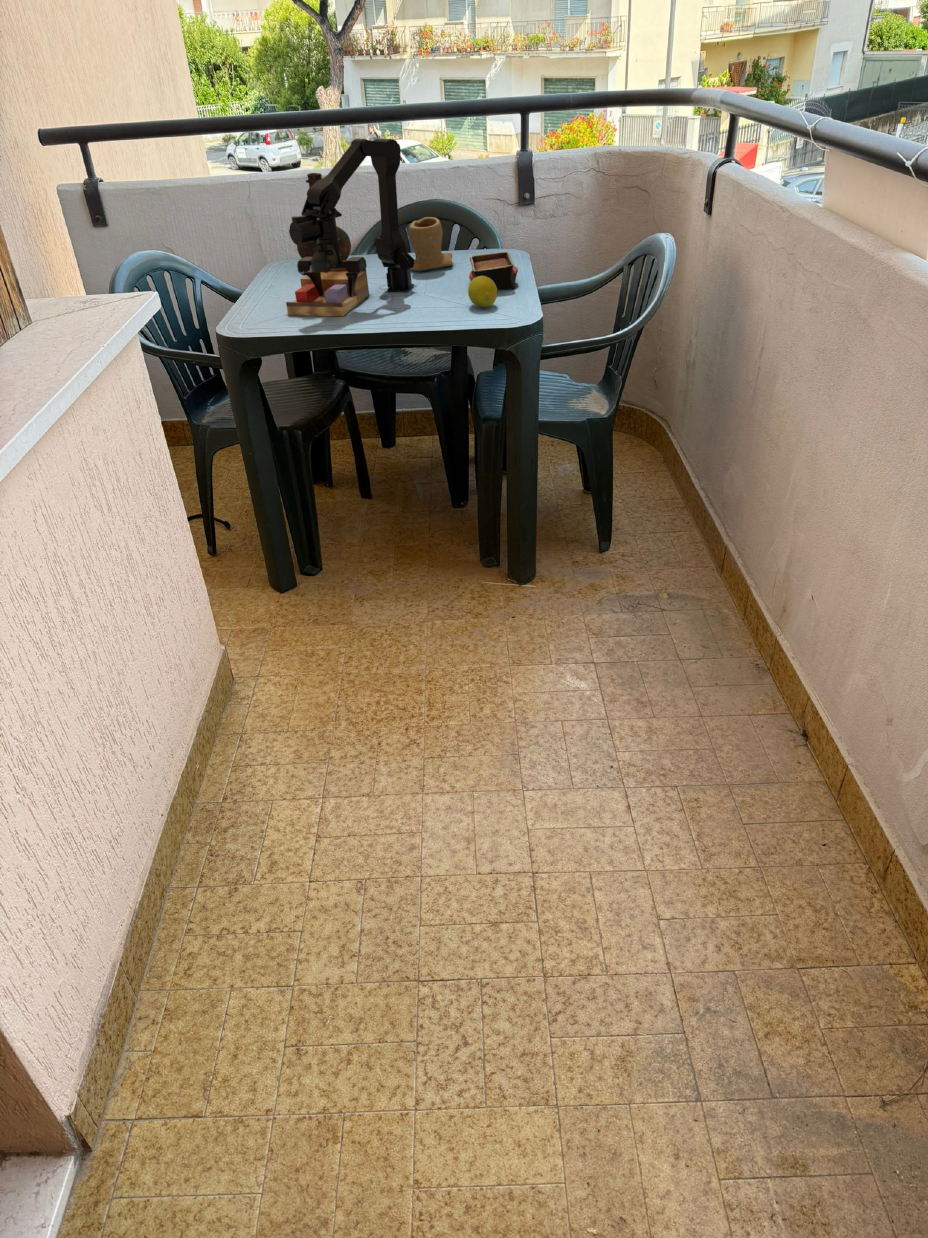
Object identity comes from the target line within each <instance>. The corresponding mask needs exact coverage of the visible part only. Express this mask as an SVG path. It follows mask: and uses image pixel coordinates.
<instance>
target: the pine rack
mask: <svg viewBox="0 0 928 1238" xmlns="http://www.w3.org/2000/svg"><path fill="white" fill-rule="evenodd" d="M347 272H348V271H347V270H346V268H331V270H330V271H329V272H328V273H324V272H321V280H322V288H323V296H322V297H320V295H319V297H318V298H316V299H315V300H313V301H312V302H297V301H296V299H295V300H293V301H286V302H285V306H286V311H287V315H288V316H304V317H305V316H310V317H311V316H313V317H316V316H317V317H344V316H346V315H347V314H348V313H349V312H351V311H352V310H353V309H354V308H355V307H357V306H358V305H359V304H360V303H362V302H363V301H364V300H365V299H366V298H368V297H369V296H370V288H369V281H368V272H367V267H366V268H365V269H363V270H362V271H361V272H360V273H359V274H358V277H357V280H356V284H355V288H354V292H353V296H352V297H350V294H349V287H348V278H347V276H346V273H347ZM306 284H313V282H312V281H311V279H310V278H309V277H308V276H307V275H303V276H302V277H301V278H300V288H301V287H303V286H304V285H306ZM334 285H346V287H347V294H348V297H347V298H346V299H344V300H343V301H342V302H341V303H326V300H325V294H324V292H325V291H327V290H328V289H329V288H331V287H332V286H334Z"/></svg>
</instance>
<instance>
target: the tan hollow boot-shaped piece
mask: <svg viewBox="0 0 928 1238" xmlns="http://www.w3.org/2000/svg"><path fill="white" fill-rule="evenodd" d="M408 232H409V234H408V235H409V241H410V244H411V247H412V249H413V252H414V256H415V259H414V260H415V261H414V267H413V268H410V270H413V271H416V272H417V271H418V272H419V271H420V272H421V271H429V270H435V269H440V268H447V267H451V266H453V253H452V252H446V253H443V252H442V244H443V234H444V233H443V232H444V231H443V227H442V224H441V221H440V220H439V219H438V218H437V217H434V216H425V217H422V218H420V219H417V220H413V221H412V222H411V223H410V224H409V227H408Z"/></svg>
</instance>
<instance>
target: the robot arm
mask: <svg viewBox="0 0 928 1238" xmlns="http://www.w3.org/2000/svg"><path fill="white" fill-rule="evenodd" d="M401 152H402V150H401V146H400V143H398V141H397V140H396V139H393V138H382V137H381V138H380V137H379V138H378V137H377V138H375V139H373V140H369V139H367V138H354V139H353V140H352V141H351V143H350V145H349V147H348V148H347V149H346V151H344V153H343V154H342V156H341V157H340V158H339V159H338V161H337V162H336V163H335V164H334V166H333V167H332V168H331V170H330V171H329V172H328V173H327V174H326V175H325V176H324V177H322V179H320V180H318V181H317V182H316V183H314V184H313V185H312V186H311V187H310V188H309V187H308V190H307V191H306V199H305V202H304V205H303V207H302V211H301V213H300V214H301V215H296V216H295V215H294V216H292V217H291V223H290V224H289V230H288V233H289V238H290V239H291V241H292V242H293V243H294V244H295V245H296V246H297V245H302V244H305V243H309V242H313V241H316V240H317V241H318V243H316V253H315V254H314V255H313V257H304V258H301V259H299V260H298V261H297V262H296V269H297V272H298V273H302V275H303V276H306V275H307V276H308V277H309V278H310V279H311V281H312V282H313V284H314V286H315V288H316V290H317V291H318V293H319V295H320V297H322V296H323V288H322V280H321V272H324V273H328V272H329V271H330V270H331V268H346V270H347V271H348V272H347V273H346V276H347V278H348V287H349V294H350V297H352V296H353V292H354V288H355V284H356V280H357V277H358V274H359V273H360V272H361V271H362V270H363V269H365V268H366V269H367V266H368V265H367V260H366V259H365V257H364V256H351V257H349V258H348V259H347V260H346V261H341V259H343V255H341V254H340V247H339V244H340V243H341V241H340V239H338V233H337V227H338V225H337V221H336V218H337V219H338V218H340V217H342V216H343V214H342V213H341V212H340V211H338V210H337V208H336V206H337V204H338V202H339V201H340V199H341V196H342V190H343V188H344V186H345V185H346V184H347V182H348V181H349V180H350V179H351V177H352V176H353V175H354V173H355V172H356V171H357V169H358V168H359V167H360V166H361V164H362V163H363V162H364V161H365V159H366V158H367V157H370V160H371V165H372V167H373V169H374V171H375V172H376V174H377V181H378V195H379V208H380V209H379V210H380V223H381V224H380V225H381V232H380V235H379V237H375V238H374V239H375V240H374V243H375V254H377V258H378V259H379V261H380V262H381V264H382V266H383V268H386V270H387V272H386V274H385V276H386V277H385V278H386V284H387V290H386V291H387V292H408V291H410V290H411V289H412V288H413V287H414V286H415V284H414V283H413V282H412V273H411V268H413V267H414V261H415V259H414V258H413V257H412V256H411V255H410V254H409V252H407V248H406V247H407V246H406V243H405V242H406V241H405V239H404V237H403V235H402V234H401V232H400V226H399V225H400V224H399V209H398V191H397V172H398V170H399V167H400V165H401V156H402V155H401V154H402V153H401ZM313 209H317V210H320V211H317V210H313ZM337 264H338V265H337Z"/></svg>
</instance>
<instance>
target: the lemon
mask: <svg viewBox="0 0 928 1238" xmlns="http://www.w3.org/2000/svg"><path fill="white" fill-rule="evenodd" d="M467 293H468V298H469V300H470V302H471V303H472V304H473V305H475V306H476V307H479V308H489V307H491V306H493V305H494V303H495V302H496V300H497V297H498V289H497V287H496V285H495V283H494V282H493V280H491V279H490V278H488V277H486V276H478V277H476V278H474V279H473V280H472V281H471V280H470V282H469V284H468V288H467Z"/></svg>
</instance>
